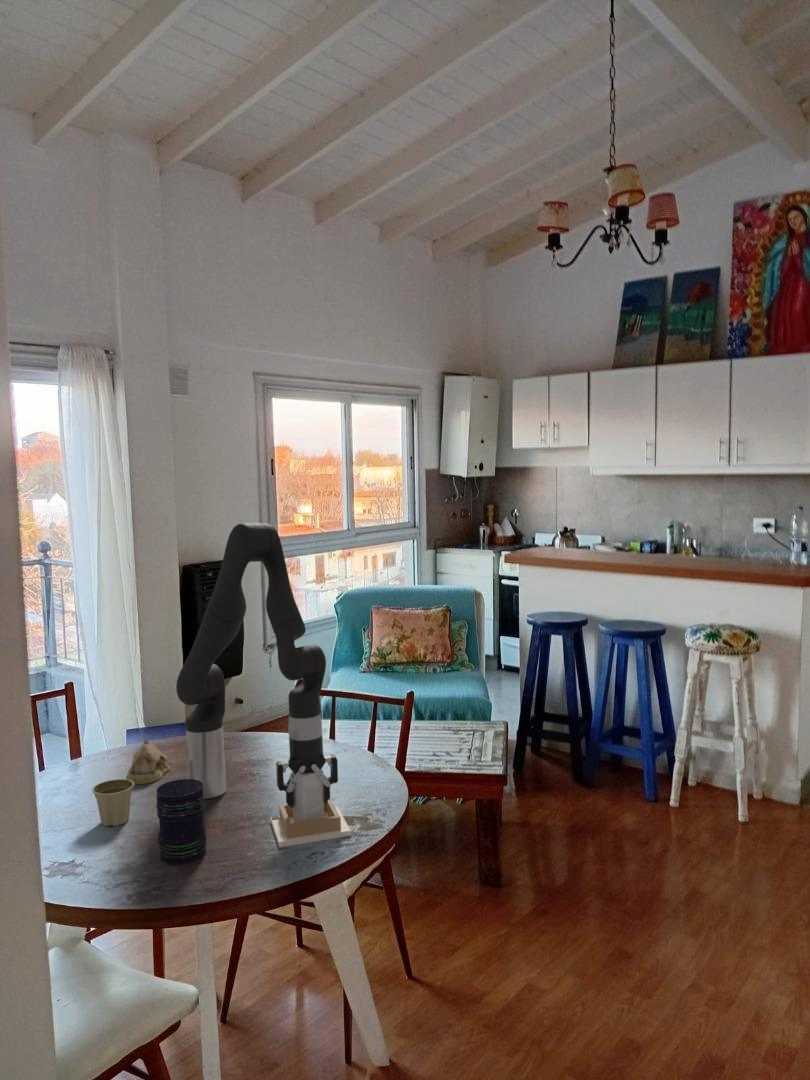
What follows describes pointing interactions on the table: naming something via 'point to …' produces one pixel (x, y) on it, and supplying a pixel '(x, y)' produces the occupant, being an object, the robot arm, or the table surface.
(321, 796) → the skincare box
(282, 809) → the hub board
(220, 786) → the robot arm
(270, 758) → the table surface
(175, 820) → the storage jar
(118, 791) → the flower pot
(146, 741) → the ceramic model
